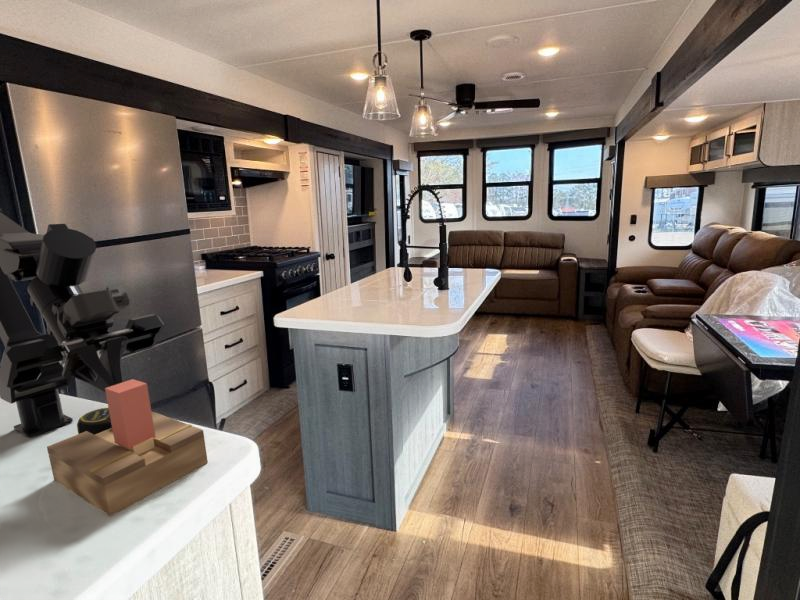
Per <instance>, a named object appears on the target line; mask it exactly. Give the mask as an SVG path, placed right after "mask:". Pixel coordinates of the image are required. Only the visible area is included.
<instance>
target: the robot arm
mask: <svg viewBox="0 0 800 600" xmlns="http://www.w3.org/2000/svg"><path fill="white" fill-rule="evenodd" d="M96 250H97V244H96V242H95V240H94V239H93V238H92V237H90V236H89V235H88V234H85V233H84V232H81V231H79V230H76V229H71V228H69V227H68V226H67V224H66V223H54V224H53V223H52V224H49V223H48V225H47V228H46V233H45V234H40V233H32V232H29V231H28V230H26V229H25V228H24V227H22V226H21V225H19V224H18V223H17V222H15V221H14V220H12V219H11V218H9V216H7V215H6V214H5V212H4V210H3V209H2V208H0V340H1V341H2V343H3V344H2V345H3V346H4V350H3V353H2V357H1V360H0V399H1V400H3V401H4V402H6V403H9V404H10V405H11V404H15V403H16V407H17V411H18V417H19V420H20V423H19V424H16V425H14V426H13V430H15V431H17V432H19V433H20V434H22V436H25V437H27V438H31V437H35V436H37V435H40V434H43V433H46V432H48V431H51V430H54V429H56V428H59V427H62V426H65V425H66V424H70V423H73V422H74V419H73V417H70V416H68V415H66V414H64V412H63V406H62V402H61V398H60V393H59V389H61V388H65V387H70V386H71V383H72V377H73V378H75V379H77V380H80V381H82V382H84V383H87V384H88V385H91V386H93V387H95V388H97V389H99V390H100V391H103V392H104V393H106V392H105V388H107V387H110V386H113V385H116V384H119V383H122V382H123V376H122V369H121V368H122V367H121V360H122V357H123V356H124V353H125V350H126V351H127V352H130V353H133V354H135V353H139V352H143V351H146V350H149V349H152V348H153V347H155V346H156V345H157V343H158V341H159V339H160V337H161V335H162V332H163V330H164V328H165V326H166V325H165V324H164V322H163V320H162V319H161V317H160V316H159V315H157V314H154V313H153V314H152V313H150V314H146V315H142V316H138V317H137V316H136V317H133V318H129V319H128V321H127V323H126V326H125V328H124V329H122V330H121V329H120V330H117V331H112V332H110V331H109V329H111V328H113V327H114V323H115V321H114V320H113V317H114V316H115V315H116V314H119V313H120V311H121V310H124V309H126V308H127V307H128V306H129V304H130V303H131V302H130V301H131V300H130V298H129V296H128V293H127V291H126V290H125V289H124V287H123V286H122V285H121V284H116V285H109V286H107V287H106V289H102V290H97V291H92V292H84V290H83V288H82V287H81V284H83V283H84V282H86V281H87V278H88V275H89V272H90V270H91V266H92V263H93V260H94V257H95V254H96ZM29 280H30V281H29ZM13 281H14V282H20V281H21V282H23V281H29V283H28V286H27V292H28V294H29V297H30V298H29V300H30V301H29V302H30V305H31V306H32V307H36V308H37V310H38V312H39V313H40V314H41V316H42V318H43V319H44V321H45V323H46V326H47V327H46V330H45V331H46V332H47V333H41V332H39V331H37V329H36V327H35V325H34V323H33V321H32V319H31V317H30V315H29V312H28V311H27V309H26V307H25V306H24V304H23V302H22V300H21V298H20V295H19V293H18V292H17V290H16V288H15V285H14V284H13Z"/></svg>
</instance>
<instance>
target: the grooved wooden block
mask: <svg viewBox="0 0 800 600" xmlns="http://www.w3.org/2000/svg"><path fill="white" fill-rule="evenodd" d="M151 412H152V418H153V424H154V430H155V436H156V437H155V438H153V440H154V446H155V448H153V449H151V450H148V451H146V452H144V453H142V454H140V455H136V454H134V453H133V452H131V451H128V450H126V449H124V448H121V447H119V446H118V444H116V443H115V440H114V435H113V429H112V428H110V429H108V430H105V431H103V432H100V433H98V434H95V435H94V434H92V433H90V432H88V431H85V432H83V433H80V434H78V433H77V434H76V435H73V436H70V437H68V438H66V439H63V440H60V441H58V442H55V443H52V444H50V445H48V446H46V450H47V454H48V458H49V462H50V467H51V472H52V476H53V481H54V482H56V483H58V484H60V486H62V487H64V488H65V489H67V490H68V491H70V492H71V493H73V494H75V495H76V496H77V497H79V498H81V499H82V500H84V501H86V502H87V503H88V504H91V505H92V506H94V507H95V508H97V509H98V510H99V511H101V512H103V513H104V514H106V515H108V516H109V517H112V516H114V515H116V514H118V513H119V512H121V511H123V510H125V509H126V508H129V507H130V506H132V505H134V504H135V503H137V502H139V501H141V500H143V499H144V498H146V497H148V496H150V495H152V494H154V493H155V492H157V491H159V490H161V489H162V488H165V487H166V486H168V485H169V484H172V483H174V482H175V481H177V480H179V479H180V478H183V477H184V476H186V475H188V474H189V473H191V472H193V471H196V470H197V469H198V468H200V467H202V466H204V465H206V464H207V463H209V462H208V454H207V449H206V447H207V446H206V441H205V433H204V429H202V428H199V427H196V426H193V425H192V424H189V423H185V422H182V421H180V420H177V419H174V418H171V417H170V416H169V417H168V416H166V415H163V414H160V413H158V412H155V411H152V410H151Z"/></svg>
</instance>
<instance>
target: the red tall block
mask: <svg viewBox="0 0 800 600" xmlns="http://www.w3.org/2000/svg"><path fill="white" fill-rule="evenodd" d="M104 393H105V397H106V402H107V408H109V413H110V419H111V424H112V429H113V435H114V440H115V443H116V444H118V446H119V447H121V448H124V449H126V450H128V451H131V452H133V453H134V454H136V455H140V454H142V453H144V452H146V451H148V450H151V449H153V448H155V446H154V440H153V438H155V437H156V436H155V430H154V424H153V418H152V412H151V411H152V407H151V400H150V394H149V388H148V383H147V382H144V381H140V380H138V379H137V380H136V379H134V378H132V379H129V380H126V381H125V380H124V381H122V383H119V384H116V385H113V386H110V387H107V388H105V392H104Z"/></svg>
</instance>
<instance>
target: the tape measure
mask: <svg viewBox="0 0 800 600" xmlns="http://www.w3.org/2000/svg"><path fill="white" fill-rule="evenodd" d="M76 423H77V424H76V429H77V435H78V434H80V433H83V432H85V431H88V432H90V433H92V434H94V435H95V434H98V433H100V432H103V431H105V430H108V429H110V428H112V424H111V419H110V413H109V408H108V407H103V408H97V409H95V410H91V411H88V412H87V413H85V414H83V415H81V417H79V419H78V421H77V422H76Z"/></svg>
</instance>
